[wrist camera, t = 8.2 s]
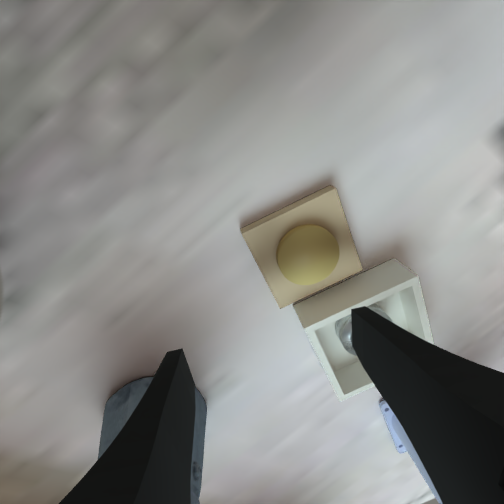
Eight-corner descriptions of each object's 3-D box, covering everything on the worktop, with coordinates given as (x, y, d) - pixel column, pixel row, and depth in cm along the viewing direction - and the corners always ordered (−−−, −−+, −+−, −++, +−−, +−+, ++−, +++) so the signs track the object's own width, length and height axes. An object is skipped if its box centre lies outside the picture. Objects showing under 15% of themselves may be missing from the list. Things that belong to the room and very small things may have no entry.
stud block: (356, 264, 24) (368, 274, 22) (277, 301, 24) (282, 315, 23) (330, 185, 21) (340, 190, 19) (240, 229, 21) (242, 238, 20)
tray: (414, 335, 28) (437, 358, 25) (326, 375, 28) (339, 402, 26) (394, 258, 24) (418, 275, 21) (292, 305, 25) (303, 328, 22)
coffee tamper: (382, 295, 25) (436, 349, 19) (385, 335, 27) (436, 396, 21) (331, 310, 25) (370, 369, 19) (338, 349, 27) (375, 414, 21)
